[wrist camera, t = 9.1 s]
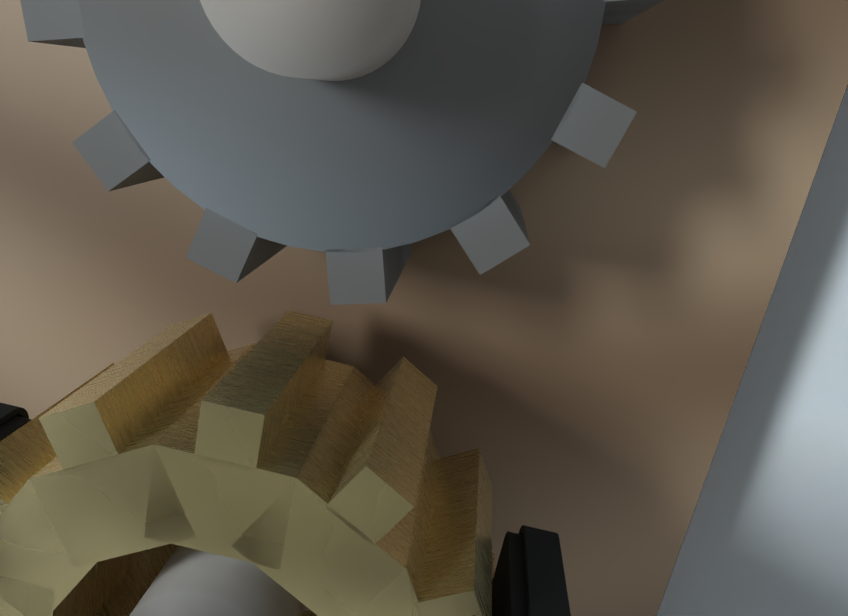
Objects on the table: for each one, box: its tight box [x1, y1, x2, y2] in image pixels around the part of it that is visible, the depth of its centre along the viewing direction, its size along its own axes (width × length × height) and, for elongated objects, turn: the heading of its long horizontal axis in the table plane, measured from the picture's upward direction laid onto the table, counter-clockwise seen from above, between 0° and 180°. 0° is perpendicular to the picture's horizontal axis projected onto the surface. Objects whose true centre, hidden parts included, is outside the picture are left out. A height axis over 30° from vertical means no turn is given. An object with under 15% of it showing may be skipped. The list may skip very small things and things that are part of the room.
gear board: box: [0, 0, 848, 616], centre depth 11 cm, size 22×14×6 cm, turn 168°
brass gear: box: [0, 310, 494, 616], centre depth 11 cm, size 7×7×4 cm
